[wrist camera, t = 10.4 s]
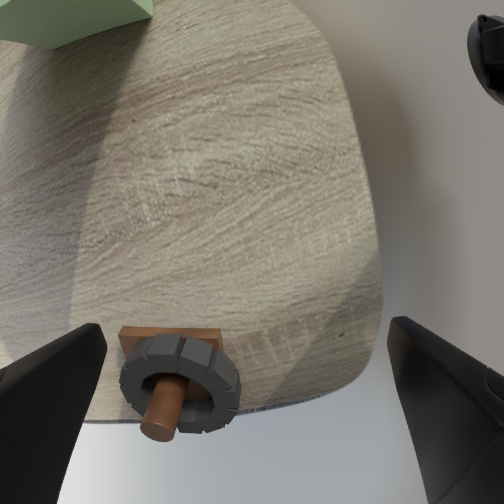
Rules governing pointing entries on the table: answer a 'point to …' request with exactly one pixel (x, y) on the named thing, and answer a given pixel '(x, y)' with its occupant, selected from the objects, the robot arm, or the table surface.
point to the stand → (168, 382)
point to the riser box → (66, 19)
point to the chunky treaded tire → (189, 365)
